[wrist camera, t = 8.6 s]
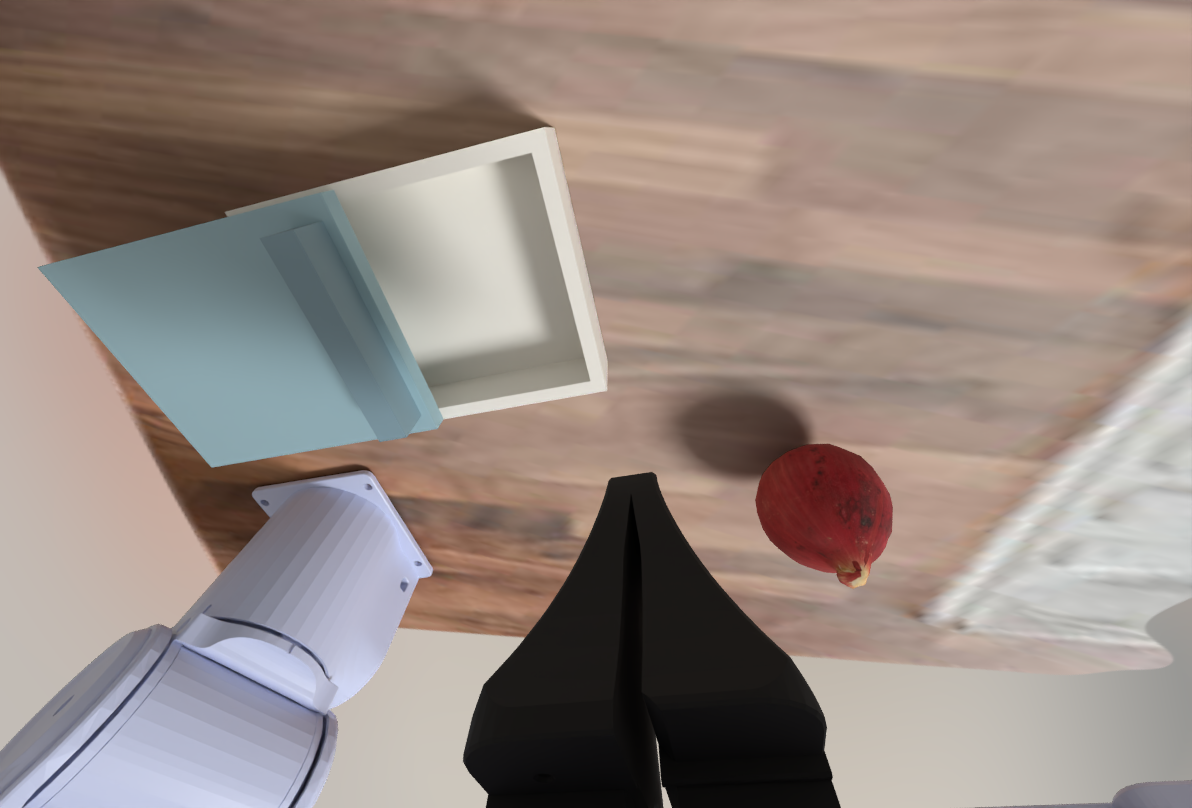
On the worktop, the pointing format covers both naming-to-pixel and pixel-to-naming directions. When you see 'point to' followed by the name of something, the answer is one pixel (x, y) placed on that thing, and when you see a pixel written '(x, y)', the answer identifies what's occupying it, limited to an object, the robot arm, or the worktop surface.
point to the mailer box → (481, 271)
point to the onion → (826, 510)
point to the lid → (256, 332)
